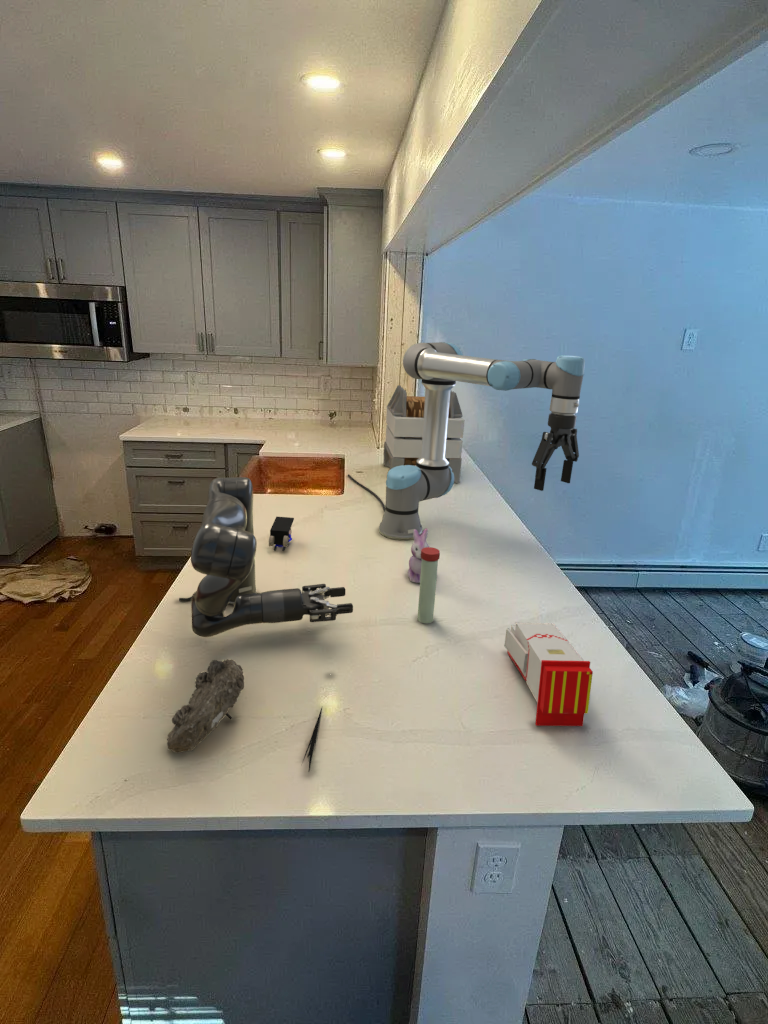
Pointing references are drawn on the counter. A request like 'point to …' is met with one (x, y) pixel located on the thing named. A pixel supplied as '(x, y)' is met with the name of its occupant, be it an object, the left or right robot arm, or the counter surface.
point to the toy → (551, 672)
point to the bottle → (427, 591)
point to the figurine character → (281, 532)
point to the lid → (430, 554)
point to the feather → (313, 740)
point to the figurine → (417, 555)
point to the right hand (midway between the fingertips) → (552, 485)
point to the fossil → (206, 705)
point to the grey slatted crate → (419, 431)
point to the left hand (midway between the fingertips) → (348, 599)
